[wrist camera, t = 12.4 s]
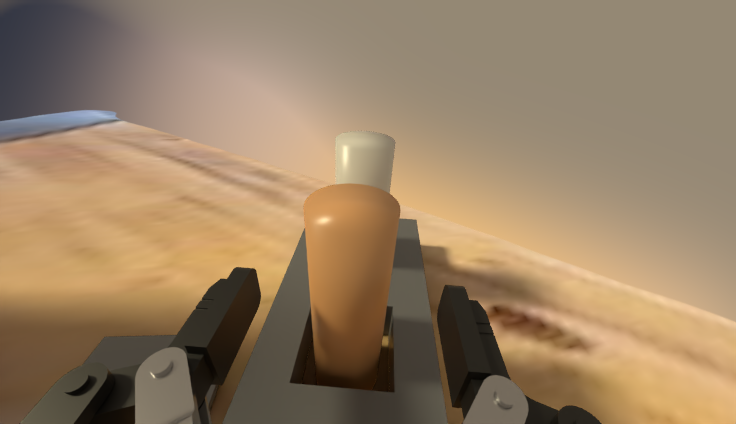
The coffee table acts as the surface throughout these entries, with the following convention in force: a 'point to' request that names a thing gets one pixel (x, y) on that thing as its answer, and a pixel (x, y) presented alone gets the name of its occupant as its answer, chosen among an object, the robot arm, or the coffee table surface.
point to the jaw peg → (349, 279)
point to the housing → (294, 330)
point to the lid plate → (134, 353)
